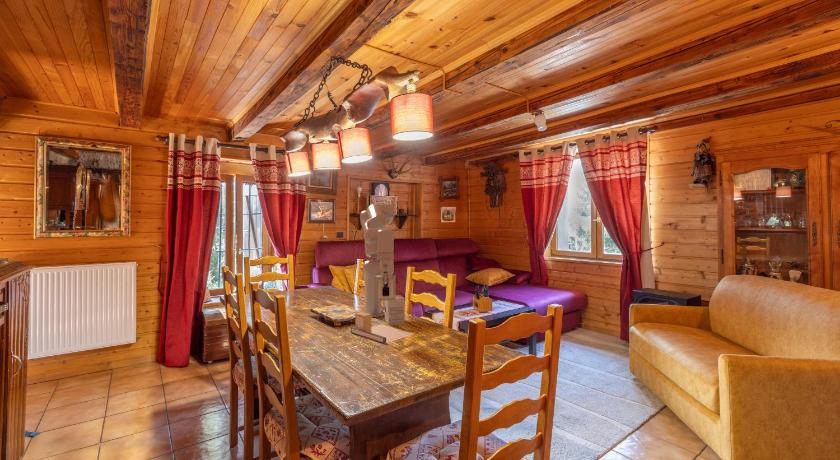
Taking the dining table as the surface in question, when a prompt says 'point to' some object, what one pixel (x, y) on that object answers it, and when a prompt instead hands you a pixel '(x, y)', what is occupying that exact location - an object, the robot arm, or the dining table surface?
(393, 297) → the tea box
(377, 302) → the robot arm
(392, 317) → the supplement box
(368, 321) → the faced box
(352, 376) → the dining table surface
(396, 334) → the shelf
